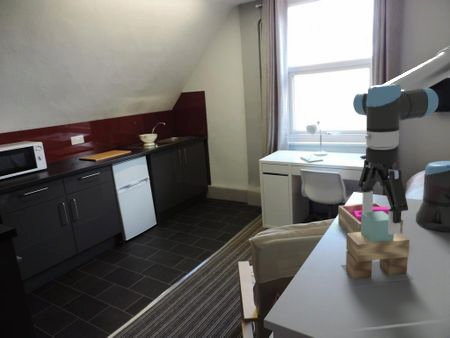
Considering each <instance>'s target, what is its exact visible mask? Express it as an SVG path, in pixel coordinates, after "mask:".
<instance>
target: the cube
mask: <svg viewBox="0 0 450 338" xmlns="http://www.w3.org/2000/svg"><path fill="white" fill-rule="evenodd" d="M388 219H389V215H388V214H386V213H385V212H383V211H377V212H366V213H361V233H362V234H363V235H364V236H365V237H366V238H367V239H368V240H369V241H371V242H381V241H390V240H393V239H394V234H391V235H390V234H388Z"/></svg>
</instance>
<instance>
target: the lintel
mask: <svg viewBox="0 0 450 338" xmlns="http://www.w3.org/2000/svg"><path fill="white" fill-rule="evenodd" d="M345 248H346V249H345V250H346V251H348V252H349V253H350V254H351V255H352V256H353V257H354V258H355V260H356V261H357V262H359V261H369V260H372V261H376V260H377V261H378V260H379V261H380V259H390V258H400V257H408V258H409V252H410V239H409V238H408V237H406V236H405V235H404V234H403V233H402V234H401V233H399V234H394V239H393V240H390V241H381V242H371V241H369V240H368V239H367V238H366V237H365V236H364V235H363V234H362V233H361V232H354V233H348V232H347V233H346V245H345Z"/></svg>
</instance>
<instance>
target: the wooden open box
mask: <svg viewBox="0 0 450 338" xmlns="http://www.w3.org/2000/svg"><path fill="white" fill-rule="evenodd" d="M373 207H384V206H383V205H382V204H380V203H378V202H376V201H375V202H373ZM354 211H362V203H355V204H345V205H338V212H337V213H338V219H337V221H338V224H339V225H340V226H341V228H343V229H344V230H345V232H347V233H354V232H361V222H360V221H359V220H357V219H356V218H355V217H354V216H353V212H354ZM403 226H404V219H403V218H401V223H400V233H401V234H402V235H403V230H404V228H403Z"/></svg>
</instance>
